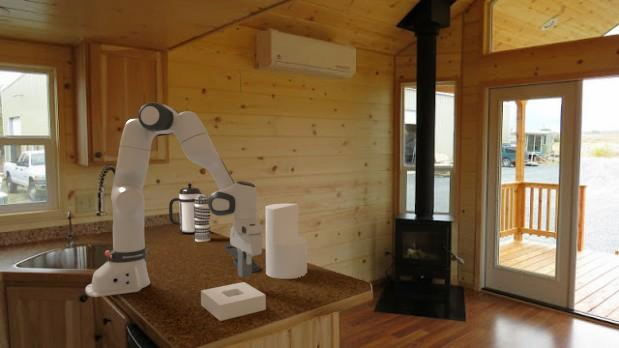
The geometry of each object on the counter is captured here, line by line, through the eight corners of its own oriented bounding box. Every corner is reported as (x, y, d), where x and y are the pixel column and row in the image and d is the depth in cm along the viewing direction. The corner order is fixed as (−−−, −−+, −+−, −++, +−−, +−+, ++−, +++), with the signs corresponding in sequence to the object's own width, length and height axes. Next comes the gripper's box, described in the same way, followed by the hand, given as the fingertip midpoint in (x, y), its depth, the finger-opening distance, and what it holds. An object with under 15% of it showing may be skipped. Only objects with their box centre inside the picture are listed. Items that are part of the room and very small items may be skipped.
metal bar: (242, 277, 162) (242, 251, 161) (237, 275, 165) (237, 248, 164) (252, 276, 164) (252, 249, 163) (247, 273, 167) (247, 247, 167)
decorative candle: (196, 238, 251) (195, 194, 249) (213, 238, 250) (212, 194, 248) (191, 241, 242) (190, 196, 240) (208, 241, 241) (207, 196, 239)
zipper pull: (238, 243, 210) (262, 255, 189) (238, 257, 210) (262, 270, 189) (220, 246, 205) (242, 258, 184) (220, 260, 205) (243, 273, 184)
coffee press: (196, 228, 276) (195, 181, 274) (207, 233, 264) (206, 183, 262) (169, 232, 265) (167, 183, 263) (180, 237, 253) (178, 185, 251)
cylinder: (257, 274, 183) (256, 207, 181) (282, 264, 198) (282, 202, 196) (291, 281, 174) (290, 211, 172) (314, 270, 188) (314, 205, 186)
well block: (220, 321, 136) (219, 305, 136) (201, 305, 149) (200, 290, 149) (265, 309, 145) (265, 294, 145) (244, 295, 158) (243, 281, 158)
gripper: (226, 221, 170) (225, 256, 171) (249, 230, 153) (249, 270, 154) (241, 220, 174) (240, 254, 175) (265, 229, 157) (265, 267, 158)
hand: (244, 262), depth 164 cm, fingers closed on metal bar, 4 cm apart
